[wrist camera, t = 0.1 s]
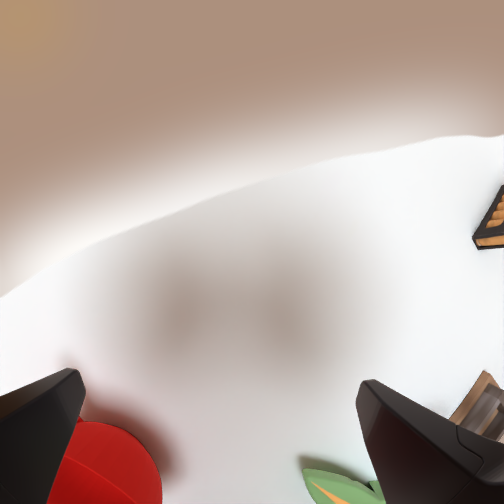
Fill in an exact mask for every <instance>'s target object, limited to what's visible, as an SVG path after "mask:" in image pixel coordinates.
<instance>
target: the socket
mask: <svg viewBox="0 0 504 504" xmlns="http://www.w3.org/2000/svg"><path fill="white" fill-rule="evenodd" d="M449 420H450V421H452V422H454V423H456V425H457V424H458V425H460V426H462V427H464V428H466V429H468V430H470V431H472V432H474V433H476V434H479V435H481V436H484V437H486V438H489V439H492V440H495V441H497V442H498V441H499V440H500V438H501V437H502V436H503V434H504V390H502V389H500V387H499V386H498V384H497V383H496V381H495V380H494V378H493V377H492V376H491V374H489V373H487V372H485V371H483V372H482V373H481V375H480V377H479V378H478V380H477V381H476V383H475V384H474V386H473V387H472V389H471V390H470V392H469V393H468V395H467V396H466V397H465V399H464V400H463V401H462V403H461V404H460V406H459V407H458V408H457V410H456V411H455V412H454V413H453V415H452V416H451V417H450V418H449Z"/></svg>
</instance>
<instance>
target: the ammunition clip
mask: <svg viewBox="0 0 504 504" xmlns="http://www.w3.org/2000/svg"><path fill="white" fill-rule="evenodd" d="M472 239H473V240H474V242H475V244H476V246H477V248H478V250H484V249H495V248H504V185H502V186H501V188H500V190H499V192H498V194H497V195H496V197H495V199H494V201H493V203H492V205H491V206H490V208H489V210H488V212H487V213H486V215H485V217H484V218H483V220H482V222H481V223H480V225H479V227H478V228H477V230H476V231H475V233H474V235H473V236H472Z"/></svg>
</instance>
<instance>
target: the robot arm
mask: <svg viewBox="0 0 504 504" xmlns="http://www.w3.org/2000/svg"><path fill="white" fill-rule="evenodd" d="M85 394H86V390H85V386H84V384H83V381H82V378H81V375H80V372H79V371H78V370H76V369H72V368H66V369H63V370H61V371H59V372H57V373H54V374H52V375H50V376H47V377H45V378H43V379H40V380H38V381H36V382H33V383H31V384H29V385H26V386H24V387H22V388H19V389H17V390H14V391H12V392H10V393H7V394H5V395H2V396H0V504H47V501H48V498H49V495H50V492H51V489H52V486H53V483H54V480H55V478H56V475H57V472H58V470H59V467H60V464H61V462H62V459H63V457H64V454H65V452H66V449H67V447H68V444H69V442H70V439H71V437H72V435H73V432H74V429H75V426H76V423H77V420H78V417H79V414H80V410H81V407H82V404H83V401H84V398H85ZM356 409H357V413H358V417H359V421H360V425H361V430H362V434H363V438H364V442H365V445H366V448H367V451H368V454H369V457H370V459H371V462H372V465H373V468H374V470H375V473H376V476H377V479H378V481H379V484H380V487H381V490H382V493H383V496H384V499H385V502H386V504H504V444H503V443H500V442H497V441H495V440H492V439H489V438H486V437H484V436H481V435H479V434H476V433H474V432H472V431H470V430H468V429H466V428H464V427H462V426H460V425H458V424H457V425H456V423H454V422H452V421H450V420H448V419H446V418H444V417H442V416H440V415H438V414H436V413H435V412H433V411H431V410H429V409H427V408H425V407H423V406H422V405H420V404H418V403H416V402H414V401H412V400H411V399H409V398H407V397H405V396H403V395H402V394H400V393H398V392H396V391H394V390H393V389H391V388H389V387H387V386H386V385H384V384H382V383H380V382H379V381H377V380H375V379H371V380H364V381H362V383H361V385H360V388H359V391H358V395H357V398H356Z"/></svg>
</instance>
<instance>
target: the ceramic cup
mask: <svg viewBox="0 0 504 504" xmlns="http://www.w3.org/2000/svg"><path fill="white" fill-rule="evenodd" d="M47 504H162V485H161V479H160V476H159V473H158V470H157V467H156V465H155V463H154V461H153V460H152V458H151V456H150V455H149V453H148V452H147V451H146V449H145V448H144V447H143V445H142V444H141V443H140V441H138V440H137V439H136V438H135V437H134V436H133V435H132V434H130V433H129V432H127V431H125V430H123V429H121V428H119V427H116V426H112V425H108V424H104V423H99V422H84V421H83V420H82V419H81V418H80V417H78V420H77V423H76V426H75V429H74V432H73V435H72V437H71V439H70V442H69V444H68V447H67V449H66V452H65V454H64V457H63V459H62V462H61V464H60V467H59V470H58V472H57V475H56V478H55V480H54V483H53V486H52V489H51V492H50V495H49V498H48V501H47Z"/></svg>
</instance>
